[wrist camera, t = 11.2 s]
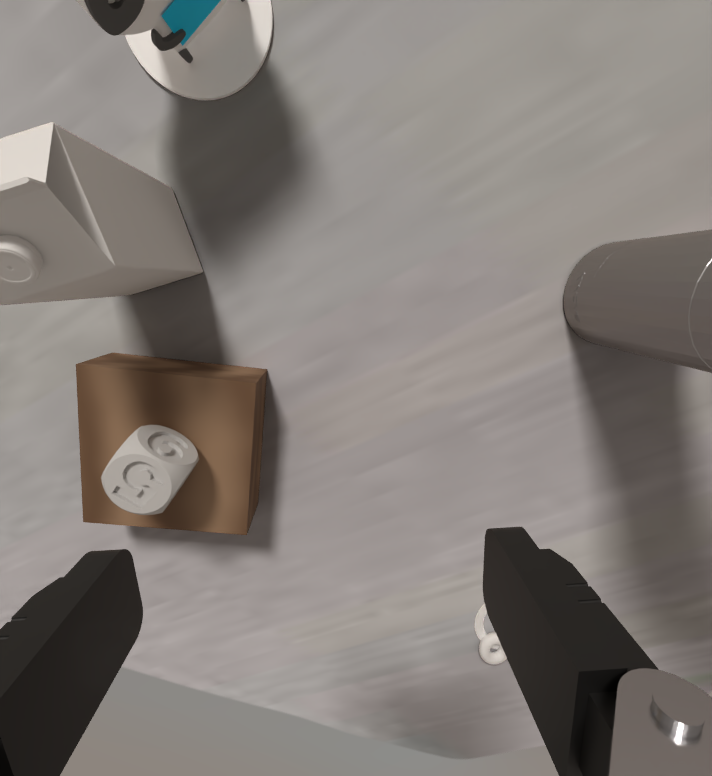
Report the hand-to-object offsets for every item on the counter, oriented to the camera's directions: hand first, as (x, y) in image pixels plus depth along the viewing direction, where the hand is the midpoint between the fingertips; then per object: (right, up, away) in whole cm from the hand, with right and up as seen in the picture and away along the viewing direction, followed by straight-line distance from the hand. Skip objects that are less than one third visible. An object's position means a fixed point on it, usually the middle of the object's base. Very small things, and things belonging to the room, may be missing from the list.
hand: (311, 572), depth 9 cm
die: (-15, -1, +25) cm, 30 cm away
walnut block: (-15, 0, +31) cm, 35 cm away
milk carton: (-17, +17, +26) cm, 35 cm away
